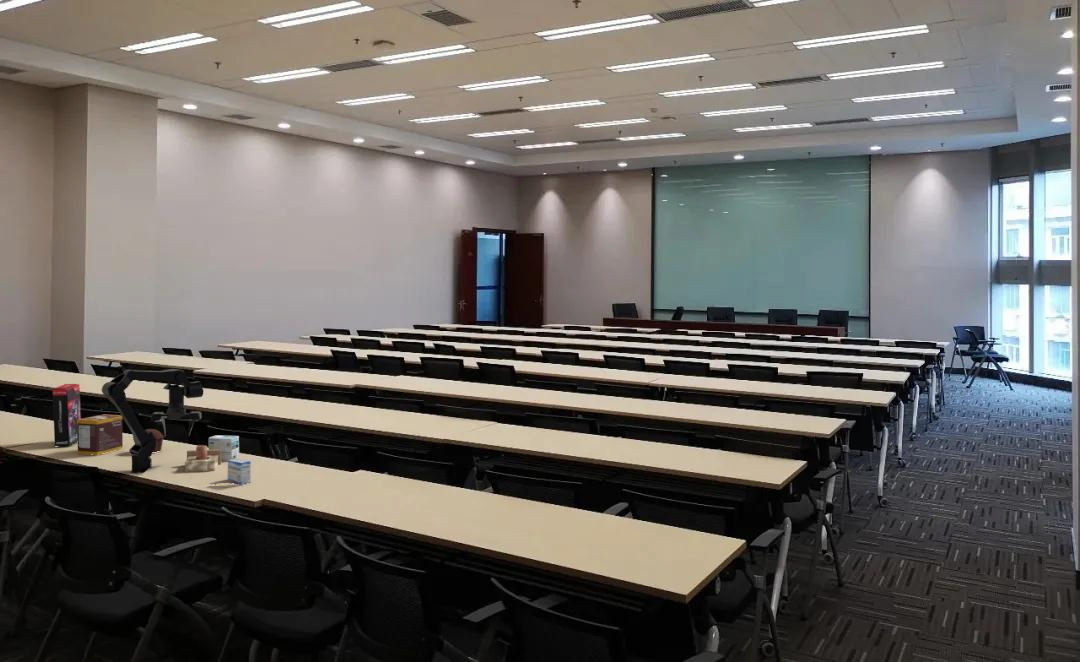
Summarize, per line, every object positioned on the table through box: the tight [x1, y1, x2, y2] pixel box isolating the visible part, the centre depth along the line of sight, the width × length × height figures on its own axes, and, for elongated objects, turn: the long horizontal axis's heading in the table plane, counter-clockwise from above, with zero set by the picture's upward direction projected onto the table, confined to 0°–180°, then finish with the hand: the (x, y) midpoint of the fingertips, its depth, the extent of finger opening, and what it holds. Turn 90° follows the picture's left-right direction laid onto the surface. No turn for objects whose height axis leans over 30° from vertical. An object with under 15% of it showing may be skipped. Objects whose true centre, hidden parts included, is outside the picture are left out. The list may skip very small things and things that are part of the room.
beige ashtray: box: [184, 455, 218, 473], centre depth 325 cm, size 11×11×4 cm
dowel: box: [195, 445, 208, 460], centre depth 325 cm, size 4×4×9 cm
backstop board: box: [186, 449, 222, 466], centre depth 323 cm, size 13×20×7 cm, turn 15°
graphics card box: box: [52, 383, 82, 447], centre depth 372 cm, size 17×7×27 cm, turn 13°
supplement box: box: [77, 413, 124, 456], centre depth 357 cm, size 10×15×16 cm
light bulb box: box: [208, 434, 240, 462], centre depth 343 cm, size 11×7×11 cm, turn 84°
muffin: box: [146, 428, 165, 452], centre depth 359 cm, size 12×11×10 cm
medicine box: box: [227, 458, 252, 486], centre depth 307 cm, size 8×4×9 cm, turn 62°
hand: (176, 436), depth 334 cm, fingers open, 9 cm apart
